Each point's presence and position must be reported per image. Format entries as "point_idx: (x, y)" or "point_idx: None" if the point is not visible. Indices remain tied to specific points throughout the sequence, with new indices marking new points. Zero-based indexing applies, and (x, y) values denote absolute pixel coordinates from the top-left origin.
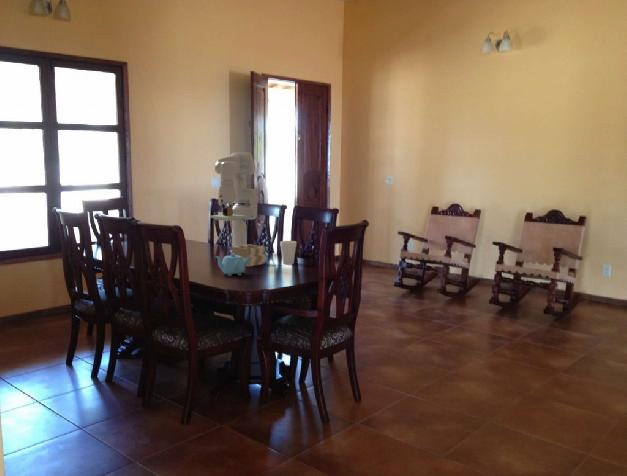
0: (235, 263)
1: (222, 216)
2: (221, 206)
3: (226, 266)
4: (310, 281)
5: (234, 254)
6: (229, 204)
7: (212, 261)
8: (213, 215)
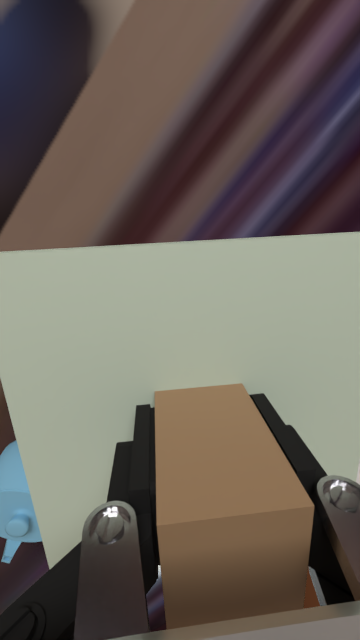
0: (7, 539)
1: (72, 462)
2: (46, 575)
3: None
4: (155, 624)
5: (18, 535)
6: (355, 574)
7: (148, 189)
8: (44, 264)
